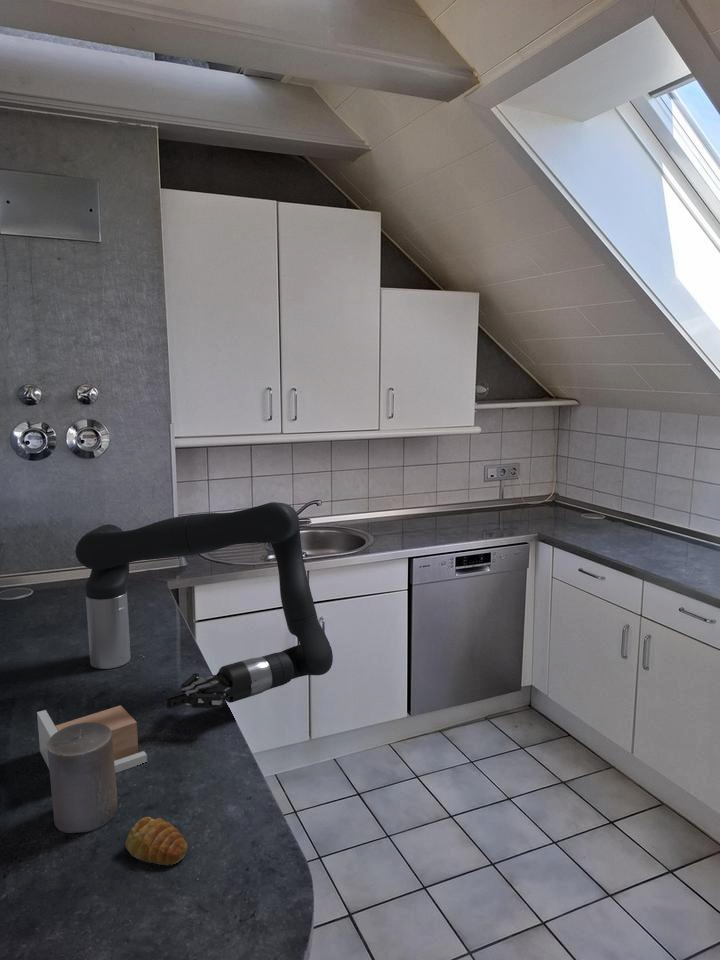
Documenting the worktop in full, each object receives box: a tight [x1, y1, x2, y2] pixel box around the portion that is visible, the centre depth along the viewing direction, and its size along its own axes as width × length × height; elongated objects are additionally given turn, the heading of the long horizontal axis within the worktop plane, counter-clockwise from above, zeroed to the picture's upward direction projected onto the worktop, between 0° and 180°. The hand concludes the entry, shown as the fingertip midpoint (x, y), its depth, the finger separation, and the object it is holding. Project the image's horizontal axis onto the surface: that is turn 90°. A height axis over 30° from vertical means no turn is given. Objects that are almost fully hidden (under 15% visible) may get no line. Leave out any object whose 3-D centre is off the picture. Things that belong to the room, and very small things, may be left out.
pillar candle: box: [47, 722, 119, 834], centre depth 112 cm, size 10×10×15 cm
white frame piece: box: [36, 709, 148, 774], centre depth 128 cm, size 15×15×8 cm
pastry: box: [125, 816, 188, 866], centre depth 105 cm, size 9×7×4 cm
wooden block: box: [55, 705, 139, 761], centre depth 128 cm, size 8×12×7 cm, turn 130°
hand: (165, 702), depth 136 cm, fingers closed
